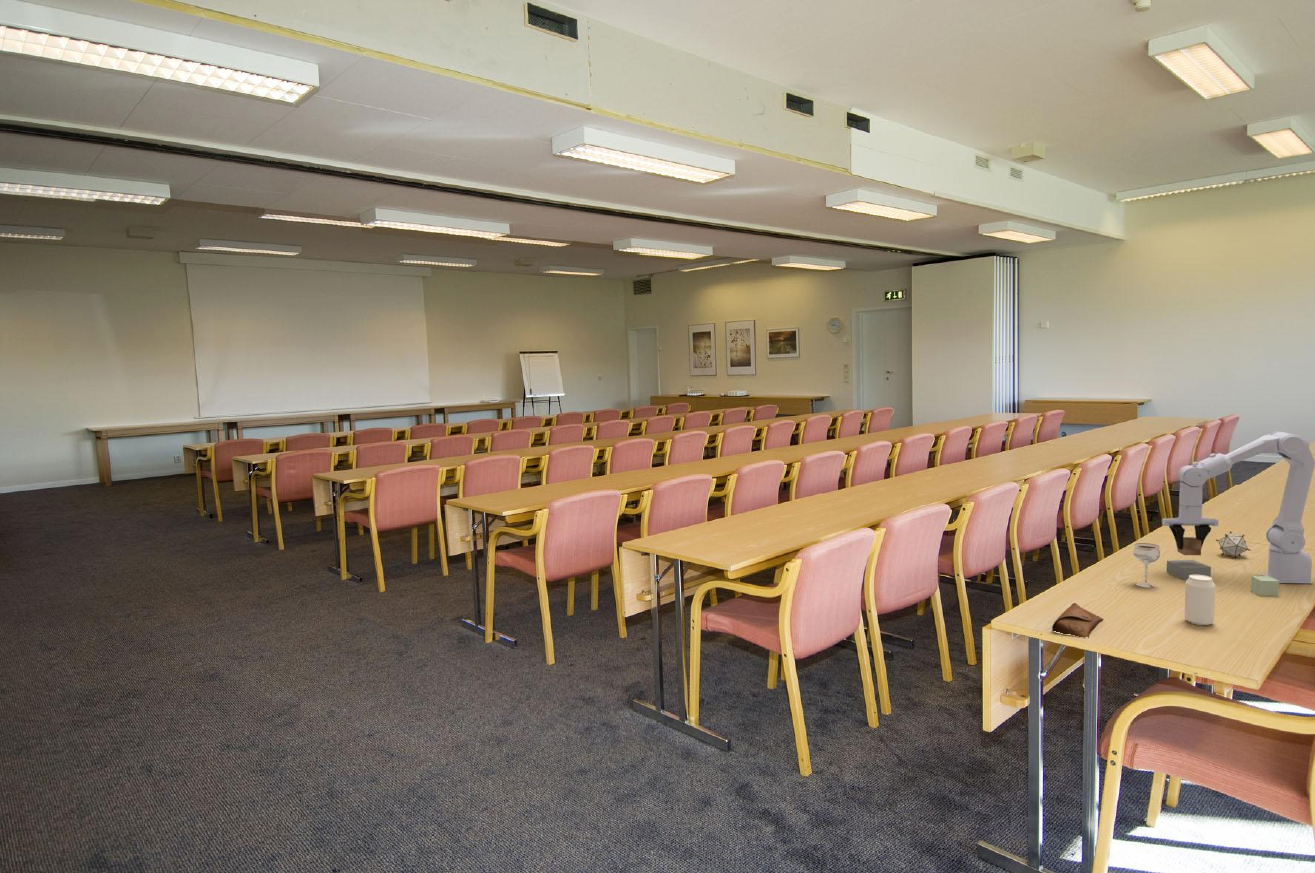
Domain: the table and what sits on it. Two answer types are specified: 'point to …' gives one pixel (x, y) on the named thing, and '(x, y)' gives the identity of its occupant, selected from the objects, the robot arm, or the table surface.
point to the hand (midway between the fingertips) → (1189, 548)
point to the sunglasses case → (1076, 621)
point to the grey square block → (1187, 568)
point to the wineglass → (1146, 558)
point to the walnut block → (1190, 546)
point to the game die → (1233, 545)
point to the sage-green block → (1265, 586)
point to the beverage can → (1200, 600)
